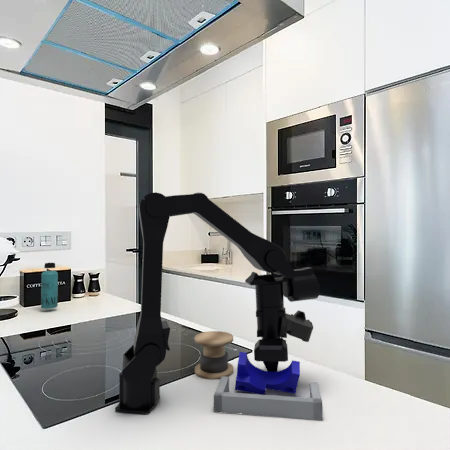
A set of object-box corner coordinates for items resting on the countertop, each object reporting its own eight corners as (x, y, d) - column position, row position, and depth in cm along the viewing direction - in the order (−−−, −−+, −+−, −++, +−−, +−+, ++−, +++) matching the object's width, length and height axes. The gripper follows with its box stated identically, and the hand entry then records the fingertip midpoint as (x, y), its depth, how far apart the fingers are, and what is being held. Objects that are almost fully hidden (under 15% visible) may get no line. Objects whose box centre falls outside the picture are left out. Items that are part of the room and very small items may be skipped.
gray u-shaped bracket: (213, 412, 64) (213, 395, 64) (221, 391, 72) (221, 376, 72) (322, 420, 61) (322, 402, 61) (317, 397, 69) (317, 382, 69)
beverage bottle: (44, 309, 151) (44, 262, 151) (60, 308, 151) (60, 261, 152) (37, 312, 144) (38, 263, 145) (54, 312, 145) (55, 263, 145)
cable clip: (235, 389, 71) (236, 370, 68) (238, 370, 75) (239, 351, 72) (295, 400, 70) (299, 381, 67) (295, 380, 73) (299, 361, 70)
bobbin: (190, 377, 79) (190, 341, 79) (199, 363, 88) (199, 330, 88) (230, 380, 78) (230, 343, 78) (235, 365, 86) (235, 331, 87)
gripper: (314, 316, 64) (318, 402, 64) (305, 293, 82) (308, 360, 82) (252, 316, 65) (256, 400, 66) (257, 294, 84) (260, 360, 84)
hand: (273, 378), depth 74 cm, fingers closed
